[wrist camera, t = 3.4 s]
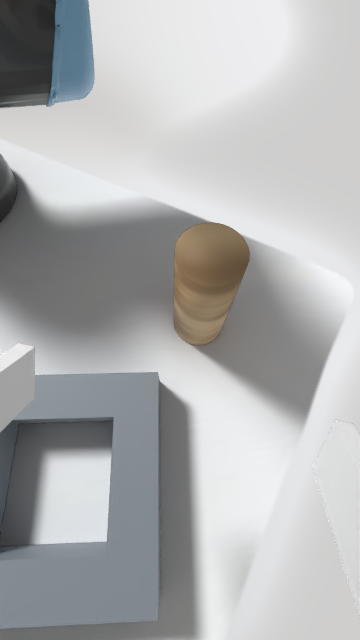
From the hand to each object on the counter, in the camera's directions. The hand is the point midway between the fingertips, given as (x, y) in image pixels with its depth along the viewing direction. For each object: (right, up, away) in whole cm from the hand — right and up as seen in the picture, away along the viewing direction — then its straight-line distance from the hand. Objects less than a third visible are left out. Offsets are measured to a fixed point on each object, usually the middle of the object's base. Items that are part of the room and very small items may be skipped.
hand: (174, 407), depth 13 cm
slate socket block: (-9, -9, +12) cm, 18 cm away
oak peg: (+2, +4, +18) cm, 19 cm away
